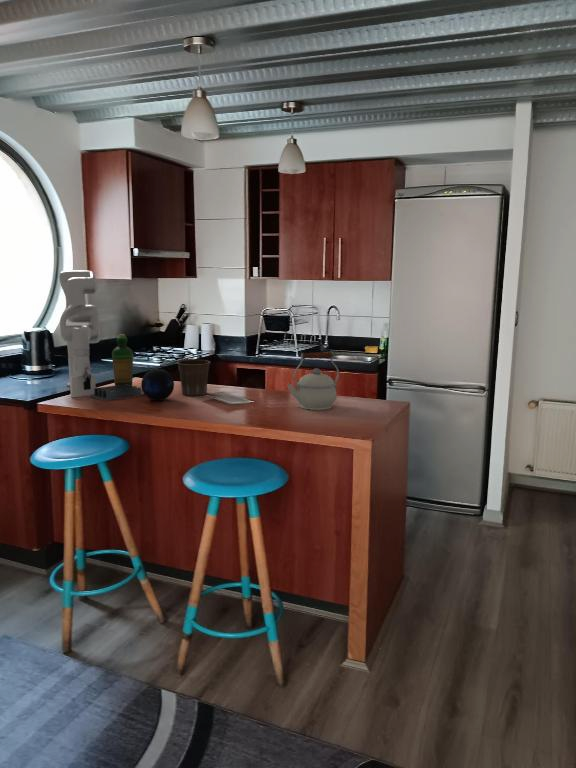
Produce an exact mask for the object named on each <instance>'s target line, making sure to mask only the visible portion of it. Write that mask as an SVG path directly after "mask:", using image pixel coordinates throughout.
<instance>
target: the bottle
mask: <svg viewBox="0 0 576 768" xmlns="http://www.w3.org/2000/svg"><path fill="white" fill-rule="evenodd" d="M116 342H117V346H116V347H115V348H114V349H112V351H111V358H112V359H111V360H112V367H113V368H112V370H113V379H114V386H115V385H123V384H128V385H133V379H134V378H133V376H134V375H133V372H134V370H133V369H134V351H133V349H132V348H130V347H128V346H127V342H128V337H127V336H126V334H125V333H124V334H123V333H120V334H118V336H116Z"/></svg>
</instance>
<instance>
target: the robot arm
mask: <svg viewBox="0 0 576 768" xmlns="http://www.w3.org/2000/svg"><path fill="white" fill-rule="evenodd" d="M58 278H59V283H60V287H61V289H62V290H63V293H64V297H65V305H66V309H65V310H64V311H63V312H62V314H61V316H60V319H59V326H60V327H59V330H60V338H61V339H62V341H64V342H66V345H67V356H68V357H67V361H68V374H69V375H68V376H69V377H68V380H69V382H67V383H66V386H67V387H70V376H79V377H83V378H84V381H85V382H84V390H89V389H91V384H90V381H91V374H92V372H91V371H92V370H91V364H90V362H91V361H90V344H97V343H99V342H100V340H101V327H100V326H101V325H100V324H101V323H100V314H99V309H98V307H97V306H96V305H95V304H87V303H86V301H87V300H86V295H95V294H96V293H97V291H98V284H97V278H96V275H95V272H94V271H92V270H85V269H83V270H81V269H80V270H75V269H73V270H70V269H69V270H63V271H61V272H60V273H59V276H58ZM67 320H68V322H69V323H72V324H75V325H67ZM76 324H80V325H76ZM81 324H85V325H81ZM88 324H89V325H88ZM85 377H86V378H85Z"/></svg>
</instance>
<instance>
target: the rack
mask: <svg viewBox="0 0 576 768" xmlns="http://www.w3.org/2000/svg"><path fill="white" fill-rule="evenodd" d="M142 395H143V396H146V395H145V394H144V393H143V391H142V387H141V386H139V387H138V386H136V385H134V386H133V384H132V385H128V384H123V385H115V384H114V385H109V386H102V387H96V388H94V394H91V395H89V396H90V398H94V399H96V400H99V399H100V401H102V400H103V402H107V400H108V401H113V399H115V400H119V399H120V398H122V399H127V397H129V398H134V396H136V397H142ZM120 400H121V399H120Z"/></svg>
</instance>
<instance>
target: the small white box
mask: <svg viewBox="0 0 576 768" xmlns="http://www.w3.org/2000/svg"><path fill="white" fill-rule="evenodd" d="M85 378H86V377H85ZM69 382H70V386H69V390H70V398H79V397H85V396H90V395H91V394H94V388H97V387H96V374H95V373H91V381H90V384H91V389H89V390H84V382H85V381H84V378H83V377H79V376H70V380H69Z"/></svg>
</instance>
